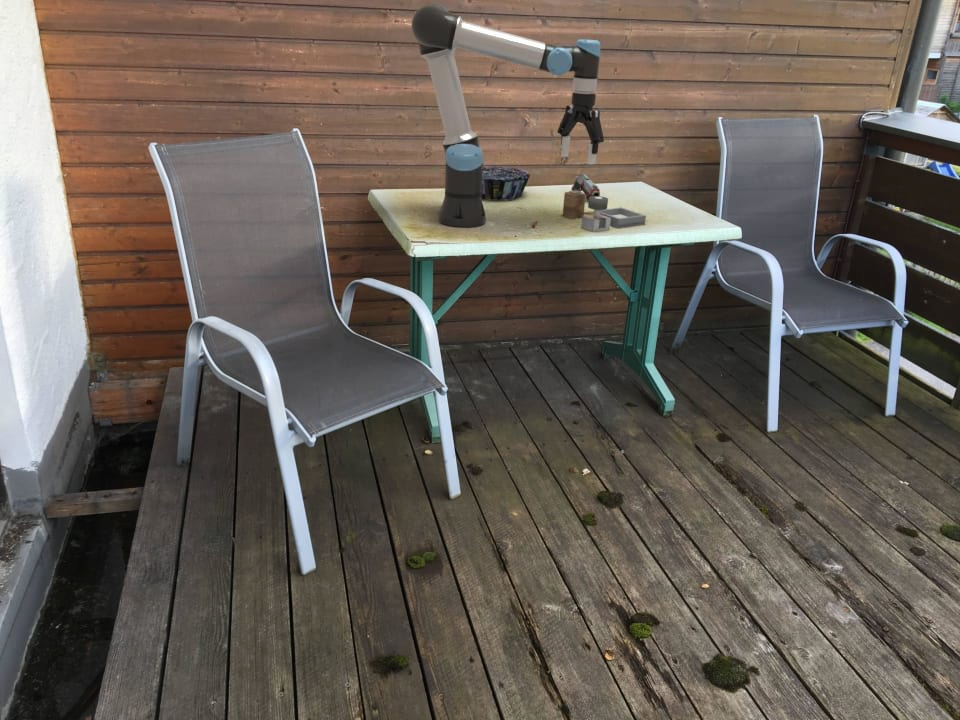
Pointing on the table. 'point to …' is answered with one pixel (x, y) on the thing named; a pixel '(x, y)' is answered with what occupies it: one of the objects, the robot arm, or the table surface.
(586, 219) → the axle mount
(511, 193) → the decorative bowl
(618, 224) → the chassis bay
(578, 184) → the toy gun
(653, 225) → the table surface
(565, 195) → the walnut block
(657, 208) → the table surface
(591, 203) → the wheel
